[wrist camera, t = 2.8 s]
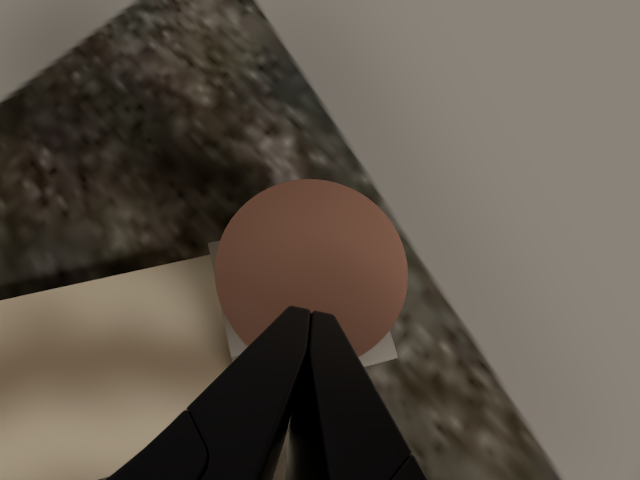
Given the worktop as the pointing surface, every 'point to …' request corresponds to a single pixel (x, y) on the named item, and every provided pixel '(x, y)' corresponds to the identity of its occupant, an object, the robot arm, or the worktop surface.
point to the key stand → (111, 367)
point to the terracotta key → (312, 261)
